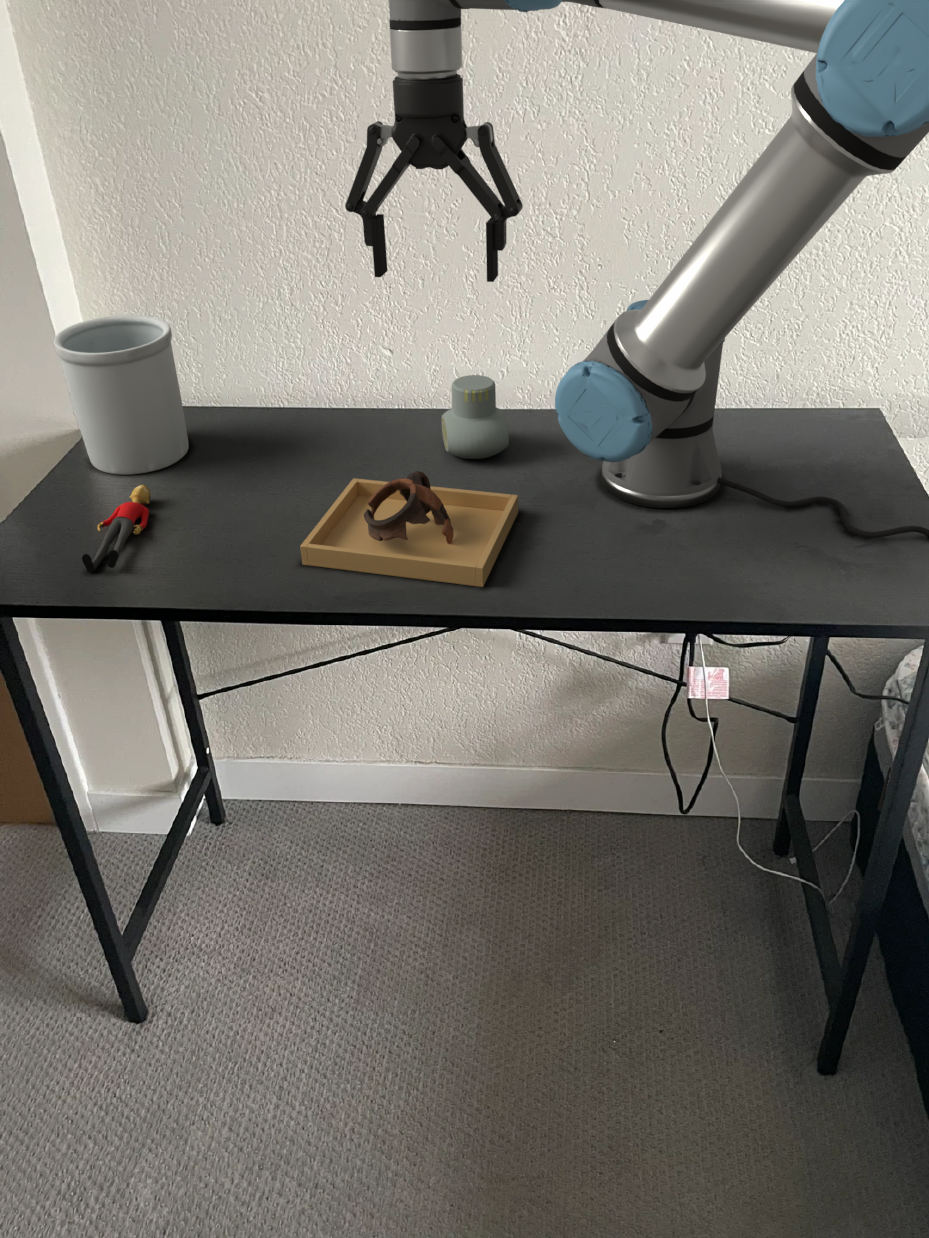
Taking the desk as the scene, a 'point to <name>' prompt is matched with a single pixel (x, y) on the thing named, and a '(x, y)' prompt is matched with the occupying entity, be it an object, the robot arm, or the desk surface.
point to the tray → (414, 536)
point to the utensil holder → (125, 392)
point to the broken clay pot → (407, 508)
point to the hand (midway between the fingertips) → (436, 276)
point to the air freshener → (474, 420)
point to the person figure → (121, 527)
